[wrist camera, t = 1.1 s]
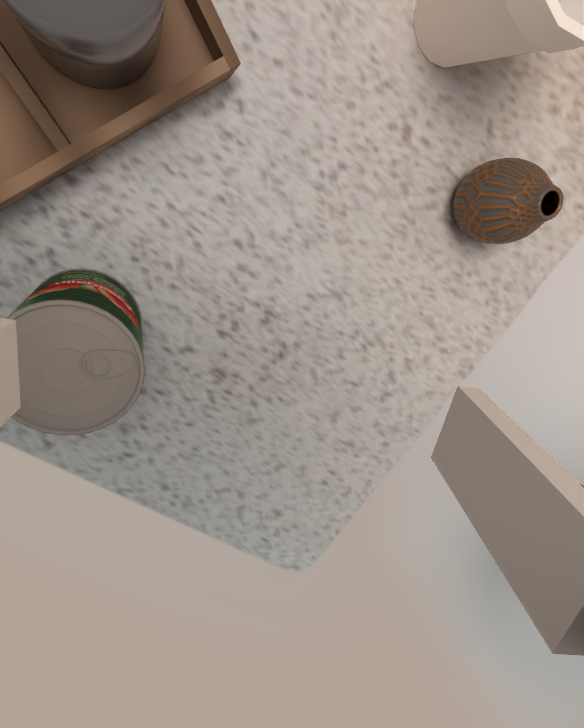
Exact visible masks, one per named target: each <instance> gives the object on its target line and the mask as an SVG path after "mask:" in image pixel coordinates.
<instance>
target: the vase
mask: <svg viewBox="0 0 584 728" xmlns="http://www.w3.org/2000/svg"><path fill="white" fill-rule="evenodd" d="M562 204H563V193H562V191H561V190H560V188H558V187H557V186H555V185H553V183H552V181H551V180H550V178H549V177H548V175H547V174H546V172H545V171H544V170H543V169H542V168H540V167H539V166H538V165H536V164H534V163H532V162H530V161H527V160H523V159H519V158H502V159H496V160H492V161H489V162H486V163H484V164H482V165H480V166H478V167H477V168H475V169H474V170H472V171H471V172H470V173H469V174H467V176H466V177H465V178H464V179H463V180H462V182H461V183H460V185H459V187H458V188H457V191H456V193H455V196H454V201H453V212H454V217H455V220H456V222H457V224H458V226H459V227H460V229H461V230H462V231H463V232H464V233H465V234H467V235H468V236H469V237H471V238H473V239H475V240H477V241H480V242H484V243H490V244H504V243H510V242H514V241H517V240H520V239H522V238H524V237H526V236H528V235H530V234H531V233H533V232H534V231H535V230H536V229H538V228H539V227H540V226H541V225H542V224H543V223H544V222H546V221H548V220H550V219H552V218H554V217H555V216H556V215H557V214H558V213H559V211H560V210H561V207H562Z"/></svg>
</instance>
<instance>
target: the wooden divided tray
mask: <svg viewBox="0 0 584 728" xmlns="http://www.w3.org/2000/svg"><path fill="white" fill-rule="evenodd" d="M240 64H241V63H240V61H239V59H238V57H237V54H236V52H235V50H234V48H233V46H232V44H231V42H230V40H229V37H228V35H227V33H226V31H225V29H224V27H223V25H222V23H221V20H220V18H219V16H218V14H217V12H216V10H215V8H214V6H213V3H212V1H211V0H166V5H165V11H164V17H163V23H162V30H161V36H160V42H159V46H158V51H157V53H156V56H155V59H154V61H153V62H152V64H151V66H150V67H149V69H148V70H147V71H146V73H145V74H144V75H143V76H142V77H141V78H139V79H138V80H136V81H135V82H134V83H132V84H130V85H127V86H125V87H121V88H118V89H110V90H106V89H95V88H90V87H87V86H84V85H81V84H79V83H77V82H74V81H72V80H71V79H69V78H67V77H65V76H64V75H63V74H61V73H60V72H59V71H57V70H56V69H55V68H54V67H53V66H51V65H50V64H49V63H48V62H47V61H46V60H45V58H44V57H43V56H42V55H41V54H40V53H39V51H38V50H37V49H36V47H35V46H34V44H33V43H32V42H31V40H30V39H29V37H28V36H27V34H26V33H25V31H24V30H23V28H22V27H21V25H20V24H19V22H18V21H17V19H16V18H15V17H14V15H13V14H12V12H11V11H10V9H9V8H8V6H7V5H6V3H5V2H4V0H0V211H1V210H2V209H4V208H6V207H8V206H9V205H11V204H13V203H14V202H16V201H18V200H20V199H21V198H23V197H25V196H26V195H28V194H30V193H32V192H33V191H35V190H37V189H38V188H40V187H42V186H44V185H45V184H47V183H49V182H50V181H52V180H54V179H56V178H57V177H59V176H61V175H62V174H64V173H66V172H68V171H69V170H71V169H73V168H74V167H76V166H78V165H80V164H81V163H83V162H85V161H86V160H88V159H90V158H92V157H93V156H95V155H97V154H98V153H100V152H102V151H104V150H105V149H107V148H109V147H110V146H112V145H114V144H116V143H117V142H119V141H121V140H122V139H124V138H126V137H128V136H129V135H131V134H133V133H134V132H136V131H138V130H140V129H141V128H143V127H145V126H146V125H148V124H150V123H152V122H153V121H155V120H157V119H158V118H160V117H162V116H164V115H165V114H167V113H169V112H170V111H172V110H174V109H176V108H177V107H179V106H181V105H182V104H184V103H186V102H188V101H189V100H191V99H193V98H194V97H196V96H198V95H200V94H201V93H203V92H205V91H206V90H208V89H210V88H212V87H213V86H215V85H217V84H218V83H220V82H222V81H224V80H225V79H227V78H229V77H230V76H231V75H232V74H233V73H234V71H235V70H236V69H237V68H238V66H239V65H240Z"/></svg>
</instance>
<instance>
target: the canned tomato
mask: <svg viewBox="0 0 584 728" xmlns="http://www.w3.org/2000/svg"><path fill="white" fill-rule="evenodd" d="M6 319H12V320H16V331H17V349H18V367H19V385H20V404H21V408H19V409H18V410H17V411H16V412H15V413H14V414H13V415H12V416H11V417H12V418H14V419H15V420H16V421H18V422H20V423H22V424H24V425H26V426H28V427H30V428H32V429H35V430H39V431H42V432H45V433H51V434H57V435H77V434H83V433H89V432H92V431H95V430H99V429H102V428H104V427H106V426H108V425H110V424H111V423H113V422H115V421H116V420H118V419H119V418H120V417H122V416H123V415H124V414H125V413H126V412H127V411H128V410H129V409H130V408H131V406H132V405H133V404H134V402H135V401H136V399H137V397H138V395H139V394H140V391H141V388H142V384H143V381H144V371H145V367H144V360H143V345H142V329H141V314H140V310H139V307H138V304H137V302H136V300H135V298H134V297H133V295H132V293H131V292H130V291H129V290H128V289H127V288H126V287H125V286H124V285H123V284H122V283H121V282H119V281H118V280H117V279H115V278H113V277H111V276H110V275H108V274H106V273H103V272H99V271H96V270H91V269H70V270H66V271H62V272H59V273H57V274H55V275H52V276H50V277H49V278H48V279H46V280H45V281H44V282H42V283H41V284H40V285H39V287H38V288H37V289H36V290H35V291H34V292H33V293H32V294H31V295H30V296H29V297H28V298H27V299H26V300H24V302H23V303H21V305H20V306H18V307H17V309H15V310H14V311H13V312H12V313H11V314H10V315H9V316H8V317H7V318H6Z"/></svg>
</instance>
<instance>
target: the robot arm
mask: <svg viewBox="0 0 584 728" xmlns="http://www.w3.org/2000/svg"><path fill="white" fill-rule="evenodd" d="M19 408H21V404H20V385H19V367H18V349H17V331H16V320H12V319H5V318H0V427H1V426H2V425H3V424H4V423H5V422H6V421H7V420H8V419H9V418H10V417H11V416H12V415H13V414H14V413H15V412H16V411H17V410H18V409H19ZM431 458H432V460H433V462H434V463H435V465H436V466H437V468H438V470H439V471H440V473H441V474H442V476H443V478H444V479H445V481H446V483H447V484H448V485H449V487H450V489H451V491H452V492H453V494H454V495H455V497H456V498H457V500H458V502H459V503H460V505H461V507H462V508H463V510H464V512H465V513H466V515H467V516H468V518H469V519H470V521H471V523H472V524H473V526H474V528H475V529H476V531H477V532H478V534H479V536H480V537H481V539H482V541H483V542H484V544H485V545H486V547H487V549H488V550H489V552H490V553H491V555H492V557H493V558H494V560H495V562H496V563H497V565H498V566H499V568H500V570H501V571H502V573H503V574H504V576H505V578H506V579H507V581H508V582H509V584H510V586H511V587H512V589H513V591H514V592H515V594H516V595H517V597H518V599H519V600H520V602H521V603H522V605H523V607H524V608H525V610H526V612H527V613H528V615H529V616H530V618H531V620H532V621H533V623H534V624H535V626H536V627H537V629H538V631H539V632H540V634H541V636H542V637H543V639H544V640H545V642H546V644H547V645H548V647H549V649H550V650H551V652H552V653H553V654H568V655H584V486H583V485H581V484H580V483H578V482H577V481H576V480H575V479H574V478H573V477H572V476H571V475H570V474H569V473H568V472H567V471H566V470H565V469H564V468H563V467H561V466H560V465H559V464H558V463H557V462H556V461H555V460H554V459H553V458H552V457H551V456H550V455H549V454H548V453H547V452H546V451H545V450H544V449H542V448H541V447H540V446H539V445H538V444H537V443H536V442H535V441H534V440H533V439H532V438H531V437H530V436H529V435H528V434H527V433H526V432H525V431H523V430H522V429H521V428H520V427H519V426H518V425H517V424H516V423H515V422H514V421H513V420H512V419H511V418H510V417H509V416H508V415H507V414H506V413H505V412H504V411H502V410H501V409H500V408H499V407H498V406H497V405H496V404H495V403H494V402H493V401H492V400H491V399H490V398H489V397H488V396H487V395H486V394H484V392H483V391H481V390H480V389H476V388H469V387H462V386H458V387H457V389H456V392H455V395H454V397H453V400H452V403H451V405H450V408H449V411H448V413H447V416H446V419H445V422H444V424H443V427H442V429H441V432H440V435H439V438H438V440H437V443H436V446H435V448H434V451H433V454H432V456H431Z"/></svg>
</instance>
